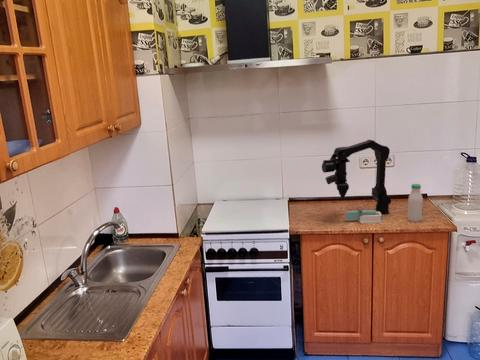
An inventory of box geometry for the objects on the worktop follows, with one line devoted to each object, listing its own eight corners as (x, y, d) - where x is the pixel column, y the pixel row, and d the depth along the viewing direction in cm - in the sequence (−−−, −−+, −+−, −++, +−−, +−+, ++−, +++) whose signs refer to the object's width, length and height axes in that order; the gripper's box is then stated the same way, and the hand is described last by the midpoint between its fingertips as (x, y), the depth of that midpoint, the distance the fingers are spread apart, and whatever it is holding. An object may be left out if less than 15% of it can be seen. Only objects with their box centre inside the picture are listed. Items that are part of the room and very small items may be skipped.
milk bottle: (421, 222, 227) (422, 187, 222) (406, 221, 231) (407, 185, 226) (423, 218, 233) (425, 183, 228) (408, 216, 237) (410, 182, 233)
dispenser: (379, 217, 239) (379, 205, 237) (382, 222, 231) (382, 210, 229) (357, 218, 240) (357, 206, 238) (360, 223, 232) (360, 211, 230)
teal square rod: (374, 217, 236) (375, 210, 235) (375, 219, 234) (375, 211, 233) (345, 218, 237) (345, 211, 236) (346, 220, 235) (346, 212, 234)
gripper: (324, 167, 245) (325, 193, 249) (327, 175, 227) (328, 202, 231) (344, 166, 243) (344, 192, 247) (348, 174, 226) (349, 202, 229)
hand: (341, 197), depth 239 cm, fingers open, 9 cm apart
